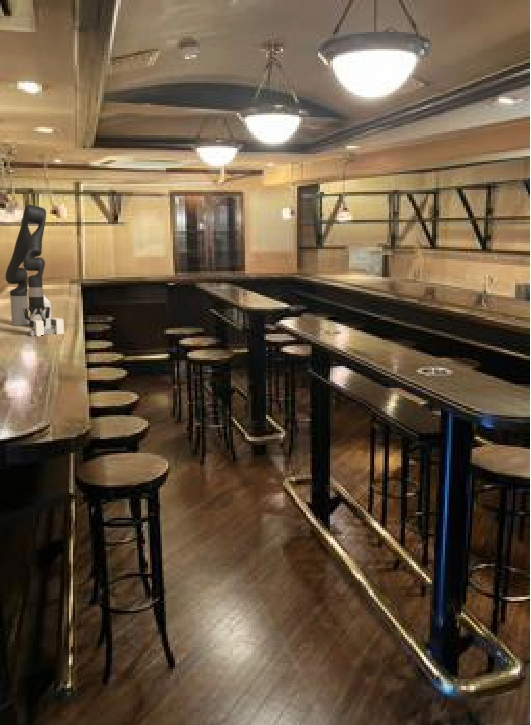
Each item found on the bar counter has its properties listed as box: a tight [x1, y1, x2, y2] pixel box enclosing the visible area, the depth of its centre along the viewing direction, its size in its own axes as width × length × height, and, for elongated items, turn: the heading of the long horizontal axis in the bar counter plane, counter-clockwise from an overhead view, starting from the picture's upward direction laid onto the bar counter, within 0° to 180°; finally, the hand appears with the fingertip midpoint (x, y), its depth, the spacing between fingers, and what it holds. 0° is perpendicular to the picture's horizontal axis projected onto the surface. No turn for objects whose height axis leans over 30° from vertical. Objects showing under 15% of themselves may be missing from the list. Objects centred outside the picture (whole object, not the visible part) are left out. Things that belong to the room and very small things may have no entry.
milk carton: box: [33, 294, 53, 329], centre depth 353 cm, size 7×7×19 cm
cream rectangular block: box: [30, 319, 45, 337], centre depth 331 cm, size 7×4×8 cm, turn 44°
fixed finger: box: [51, 317, 65, 335], centre depth 339 cm, size 7×4×8 cm, turn 44°
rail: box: [29, 328, 56, 337], centre depth 335 cm, size 2×17×3 cm, turn 134°
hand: (37, 326), depth 331 cm, fingers open, 6 cm apart
